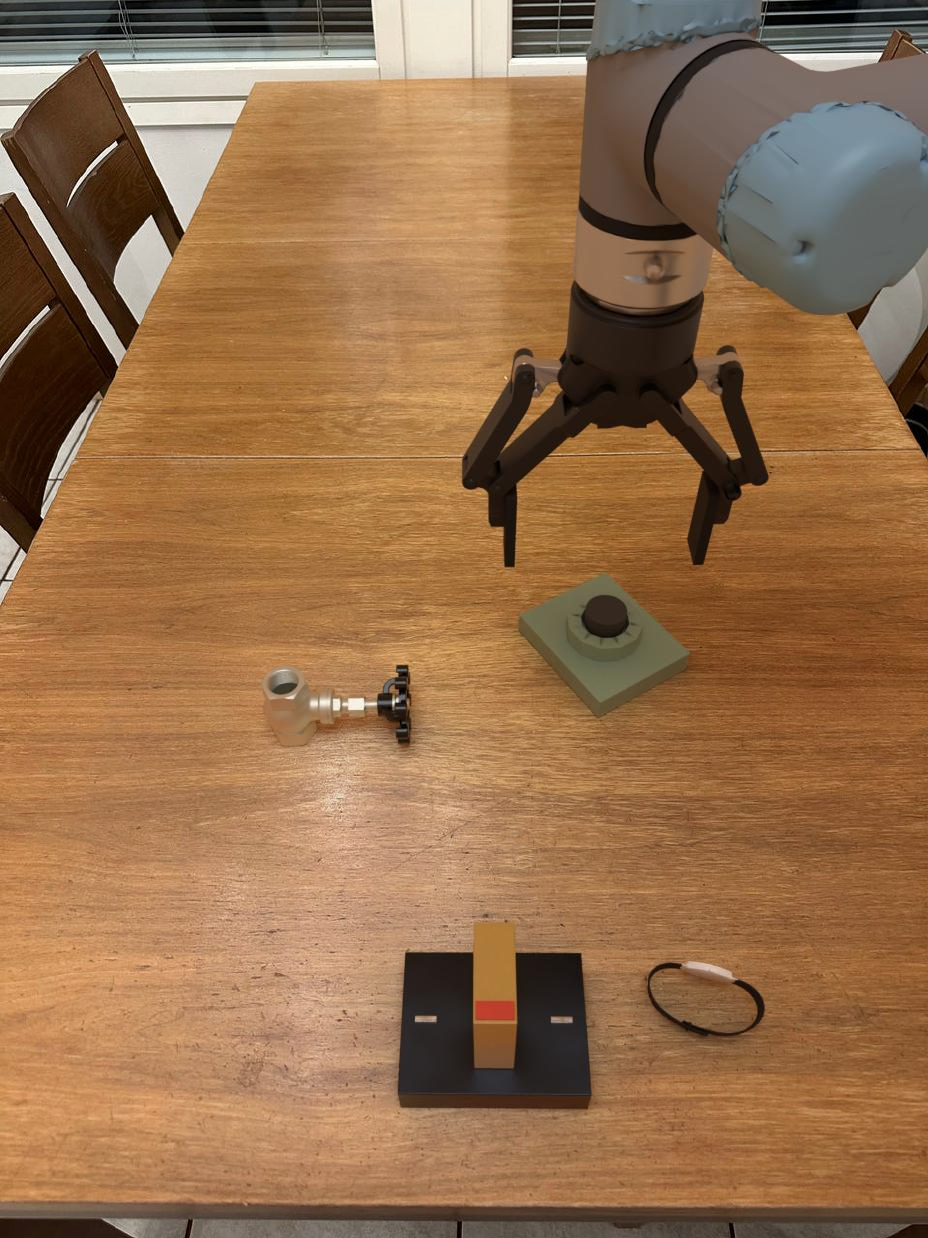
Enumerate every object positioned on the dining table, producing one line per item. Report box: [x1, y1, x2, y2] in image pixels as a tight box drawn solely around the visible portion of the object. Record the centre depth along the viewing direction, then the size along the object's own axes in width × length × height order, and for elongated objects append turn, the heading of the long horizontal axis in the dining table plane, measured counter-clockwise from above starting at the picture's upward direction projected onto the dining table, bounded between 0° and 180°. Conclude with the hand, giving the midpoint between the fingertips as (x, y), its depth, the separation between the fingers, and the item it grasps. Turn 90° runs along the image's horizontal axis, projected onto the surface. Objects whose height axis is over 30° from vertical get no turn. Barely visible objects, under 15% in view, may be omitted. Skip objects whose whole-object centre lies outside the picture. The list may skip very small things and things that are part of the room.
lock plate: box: [397, 951, 593, 1110], centre depth 62 cm, size 12×9×3 cm
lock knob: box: [472, 922, 517, 1068], centre depth 58 cm, size 6×2×8 cm, turn 0°
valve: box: [259, 664, 413, 747], centre depth 78 cm, size 7×7×12 cm
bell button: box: [584, 595, 627, 638], centre depth 83 cm, size 4×4×2 cm
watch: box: [646, 960, 766, 1038], centre depth 63 cm, size 8×5×4 cm, turn 74°
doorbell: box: [518, 572, 691, 719], centre depth 85 cm, size 12×10×4 cm
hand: (601, 553), depth 69 cm, fingers open, 13 cm apart
